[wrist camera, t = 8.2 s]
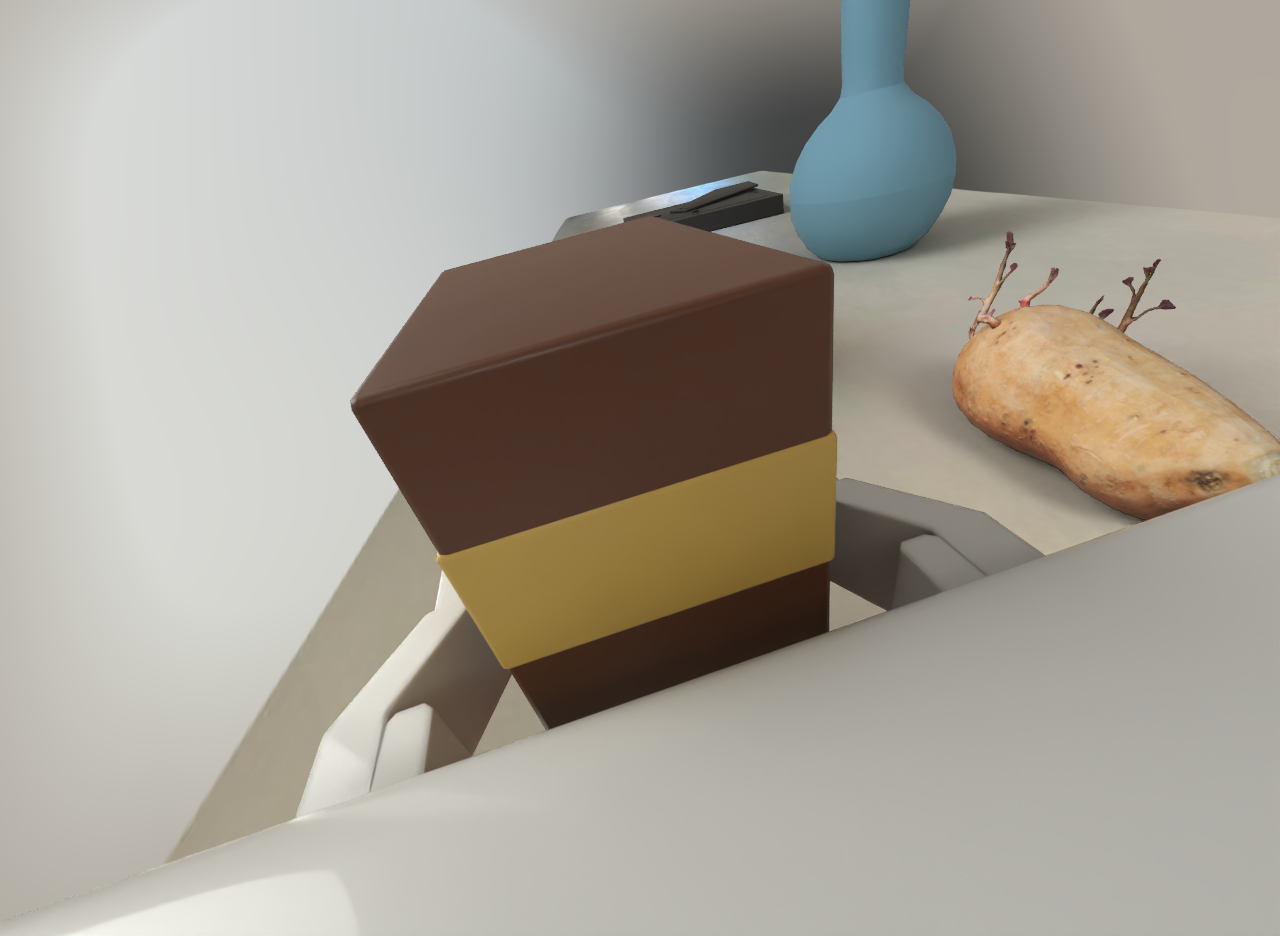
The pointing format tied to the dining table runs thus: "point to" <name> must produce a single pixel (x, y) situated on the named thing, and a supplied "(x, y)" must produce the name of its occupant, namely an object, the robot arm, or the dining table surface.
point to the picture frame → (722, 208)
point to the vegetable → (1106, 406)
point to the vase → (872, 149)
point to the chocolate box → (620, 455)
